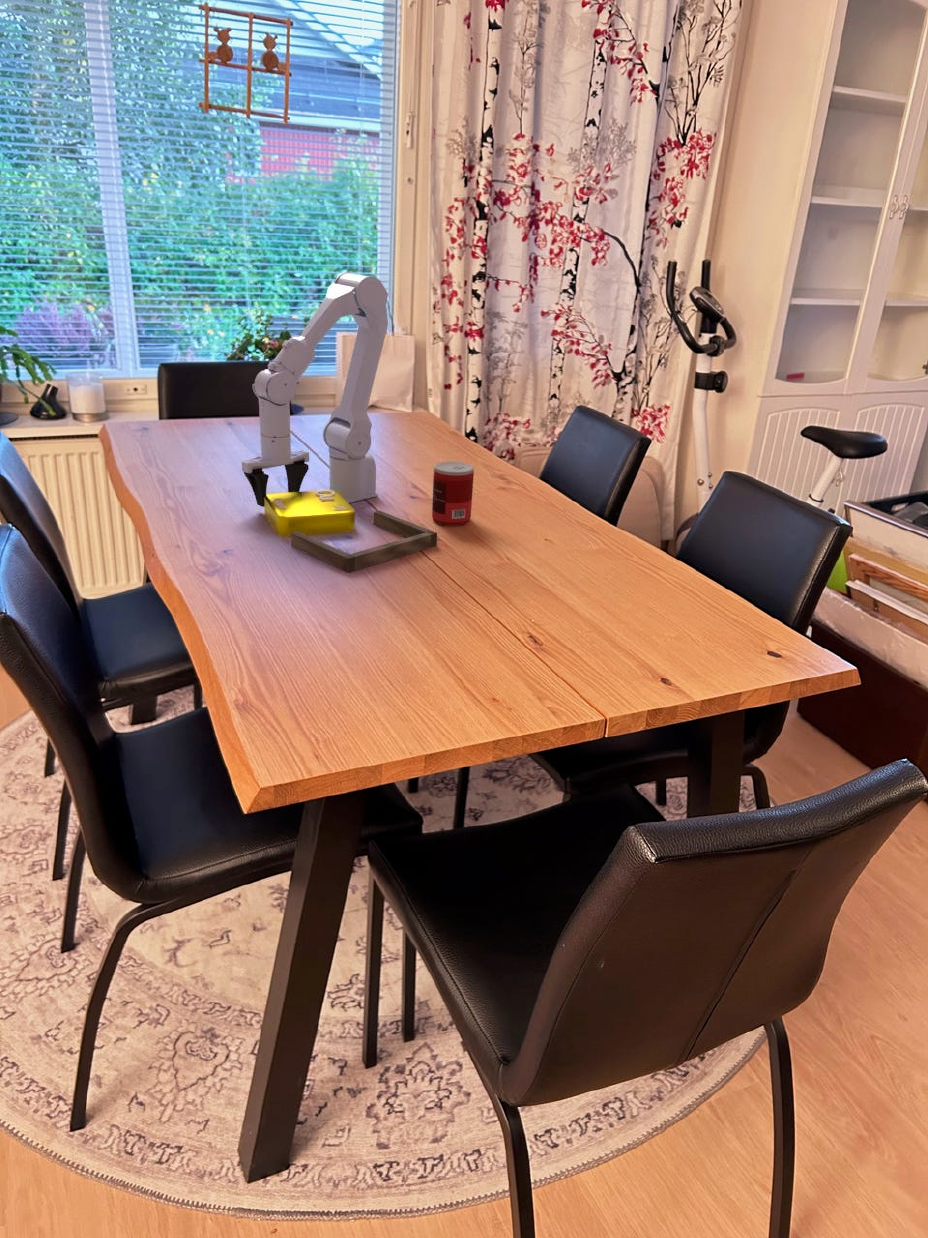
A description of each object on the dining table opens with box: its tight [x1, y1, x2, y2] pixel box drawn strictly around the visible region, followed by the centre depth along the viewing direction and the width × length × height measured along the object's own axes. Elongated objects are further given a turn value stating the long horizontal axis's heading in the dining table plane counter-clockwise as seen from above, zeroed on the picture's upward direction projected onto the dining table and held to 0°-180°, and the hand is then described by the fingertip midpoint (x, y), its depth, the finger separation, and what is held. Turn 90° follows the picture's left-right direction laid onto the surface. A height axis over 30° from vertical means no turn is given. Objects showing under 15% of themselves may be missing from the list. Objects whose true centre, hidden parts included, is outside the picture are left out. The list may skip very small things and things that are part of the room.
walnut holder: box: [290, 510, 438, 573], centre depth 163 cm, size 21×16×2 cm
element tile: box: [263, 489, 356, 538], centre depth 172 cm, size 15×15×5 cm
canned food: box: [431, 461, 475, 527], centre depth 176 cm, size 8×8×11 cm
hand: (277, 501), depth 179 cm, fingers open, 7 cm apart
